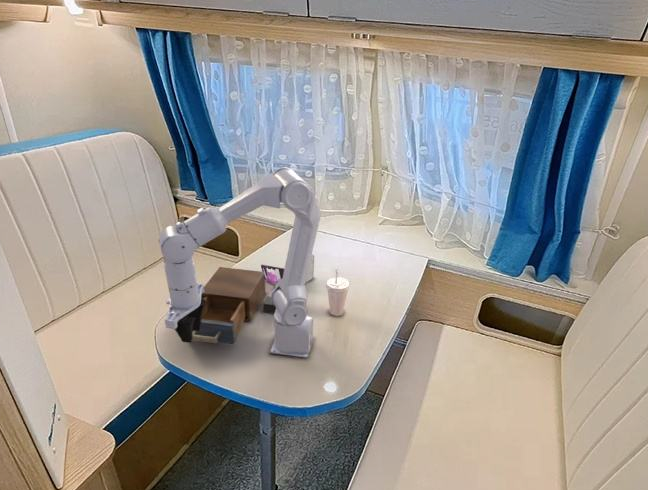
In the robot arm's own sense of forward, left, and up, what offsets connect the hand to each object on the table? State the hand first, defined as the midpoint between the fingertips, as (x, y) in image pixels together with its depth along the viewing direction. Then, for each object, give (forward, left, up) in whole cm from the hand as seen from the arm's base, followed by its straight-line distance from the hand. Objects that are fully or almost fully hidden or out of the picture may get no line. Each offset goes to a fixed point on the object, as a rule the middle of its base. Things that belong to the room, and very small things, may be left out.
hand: (191, 335), depth 96 cm
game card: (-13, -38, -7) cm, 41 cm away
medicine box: (-16, -44, -10) cm, 48 cm away
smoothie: (-29, -29, -9) cm, 42 cm away
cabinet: (0, -27, -9) cm, 29 cm away
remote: (-13, -27, -9) cm, 31 cm away
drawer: (0, -13, -9) cm, 16 cm away
